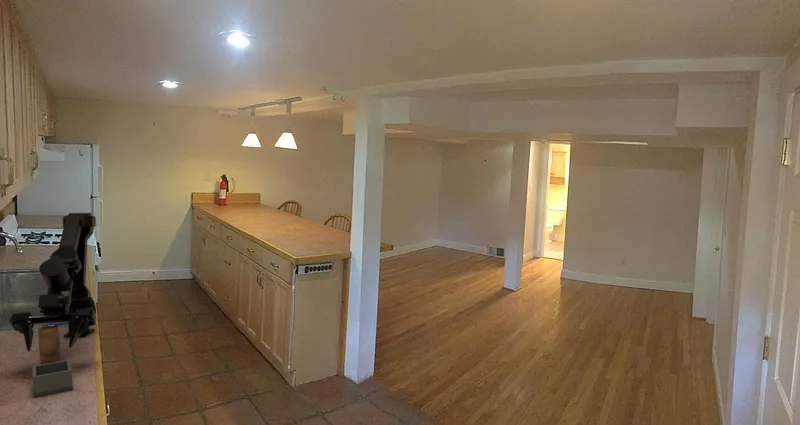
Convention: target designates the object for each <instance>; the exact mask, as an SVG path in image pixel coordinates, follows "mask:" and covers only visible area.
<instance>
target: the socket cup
mask: <svg viewBox="0 0 800 425" xmlns="http://www.w3.org/2000/svg"><path fill="white" fill-rule="evenodd" d="M31 368H32V386H33V387H32V388H33V398H39V397H44V396H49V395H54V394H59V393H63V392H69V391H73V390H74V389H73V388H74V385H73V370H72V369H73V368H72V364H71V361H70V359H65V360H64V359H63V360H61V361H58V362H52V363H47V364H41V365H40V364H36V365H32V367H31Z"/></svg>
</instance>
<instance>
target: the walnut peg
mask: <svg viewBox="0 0 800 425" xmlns="http://www.w3.org/2000/svg"><path fill="white" fill-rule="evenodd" d="M37 330H38V344H39V345H38V346H39V350H38V351H39V365H41V364H47V363H52V362H58V361H62V359H61V358H62V357H61V344H60V343H61V342H60V327H59V325H55V326H46V327H44V326H42V327H40V328H39V329H37Z"/></svg>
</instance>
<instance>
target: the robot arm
mask: <svg viewBox="0 0 800 425" xmlns="http://www.w3.org/2000/svg"><path fill="white" fill-rule="evenodd" d="M92 214H93V213H91V212H69V213H68V214H67V215H63V216H62V228H63V229H62V232H61V236H60V240H59V245H58V248H57V249H55V250H54V251H53V252H51V255H50V257H49V259H46V260H45V261H43V262H42V263H41V264H40V265H39V269H38V270H39V272H40V275H41V276H42V280H43V283H44V284H45V285H46V286H47V290H46V294H40V295H38V304H37V306H38V309H39V312H40V313H41V314H42V315H36V316H32V313H31V312H30V311H21V312H17V311H16V312H13V313H12V314H11V315H10V316H9V324H10V325H11V326H12V329H13V330H14V331H15V332H19V334H21V335H22V334H23V337H24V341H25V346H26V350H27V352H31V350H32V348H33V347H32V344H33V341H34V340H33V339H34V325H37V324H43V323H53V322H67V321H68V324H67V327H68V332H67V333H65V334H63V337H64V338H69V342H68V347H69V348H72V347H74V345H75V343H76V342H77V341H78V339H79V338H85V337H87V336H88V335H89V334H91V333H92V332H94V331H95V328H90V327H93V326H95V325H96V322H97V316H96V314H97V308H96V307H97V306H96V303H95V300H94V299H93V297H92V292H91V291H90V289H89V287H88V286H87V285H86V284H87V282H86V281H87V262H88V260H87V259H88V257H87V256H88V240H90V238H91V236H92V235H93V234H94V228H95V227H96V225H97V221H96V220H97V219H96V216H95V215H92Z"/></svg>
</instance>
